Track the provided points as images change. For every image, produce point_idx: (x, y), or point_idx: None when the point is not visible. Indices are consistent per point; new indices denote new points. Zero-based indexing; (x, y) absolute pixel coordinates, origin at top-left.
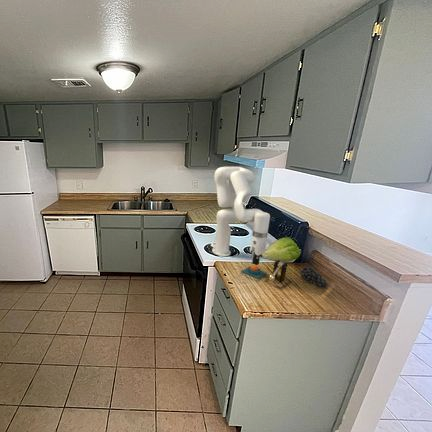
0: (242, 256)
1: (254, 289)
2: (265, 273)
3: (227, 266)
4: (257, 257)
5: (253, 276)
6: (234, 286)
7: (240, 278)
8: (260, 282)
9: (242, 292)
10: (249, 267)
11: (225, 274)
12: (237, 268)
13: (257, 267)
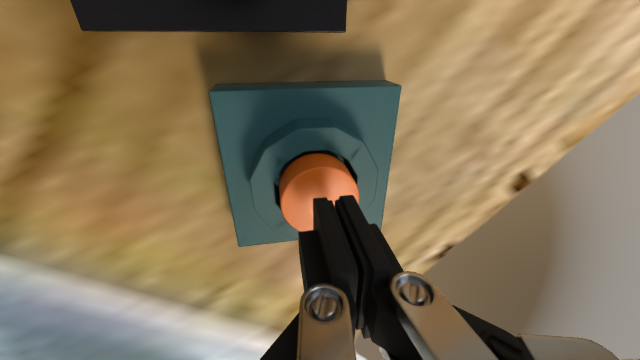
0: (106, 354)
1: (528, 25)
2: (235, 89)
3: None
4: (439, 304)
5: (394, 130)
6: (552, 144)
7: (428, 182)
8: (381, 52)
9: (608, 67)
10: None
11: (440, 252)
12: None
13: (306, 180)
